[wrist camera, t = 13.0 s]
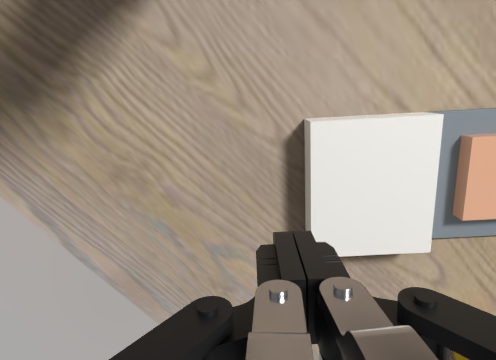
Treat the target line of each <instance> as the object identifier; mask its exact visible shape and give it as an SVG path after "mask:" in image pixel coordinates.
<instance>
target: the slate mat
mask: <svg viewBox="0 0 496 360" xmlns="http://www.w3.org/2000/svg"><path fill="white" fill-rule="evenodd" d="M428 113H437V114H444V117H443V128H442V138H441V148H440V158H439V168H438V178H437V189H436V199H435V209H434V219H433V229H432V238H452V237H473V236H493V235H496V219H486V220H466V221H462V220H461V219H459V218H457V217H456V216H454V215H452V214H453V205H454V196H455V187H456V178H457V170H458V161H459V152H460V143H461V135H470V134H488V133H496V108H489V109H471V110H453V111H435V112H428Z"/></svg>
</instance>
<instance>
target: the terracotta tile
mask: <svg viewBox="0 0 496 360" xmlns="http://www.w3.org/2000/svg"><path fill="white" fill-rule="evenodd" d="M452 215H454V216H456V217H457V218H459V219H461V220H462V221H466V220H486V219H496V133H488V134H470V135H461V143H460V152H459V161H458V170H457V178H456V187H455V196H454V205H453V214H452Z"/></svg>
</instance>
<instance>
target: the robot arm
mask: <svg viewBox="0 0 496 360" xmlns="http://www.w3.org/2000/svg"><path fill="white" fill-rule="evenodd" d="M256 261H257V283H258V288H257V289H256V293H255V297H254V298H253V299H251V300H250V301H248V302H247V303H245V304H242V305H239V306H235V307H232V305H231V303H230V302H229V301H228V300H226V299H225V298H222V297H218V296H208V297H202V298H199V299H197V300H195V301H193V302H191V303H190V304H188V305H187V306H186V307H184V308H183V309H181V310H180V311H178V312H177V313H176V314H174V315H173V316H171V317H170V318H168V319H167V320H165V321H164V322H163V323H161V324H160V325H158V326H157V327H155V328H154V329H153V330H151V331H150V332H148V333H147V334H145V335H144V336H142V337H141V338H139V339H138V340H137V341H135V342H134V343H132V344H131V345H129V346H128V347H126V348H125V349H124V350H122V351H121V352H119V353H118V354H116V355H115V356H113V357H112V358H111V359H109V360H314V359H313V352H312V345H311V344H318V346H319V360H448V358H449V350H452V351H454V352H456V353H458V354H460V355H461V356H463V357H465V358H467V359H469V360H496V316H494V315H492V314H489V313H487V312H484V311H482V310H480V309H477V308H475V307H472V306H470V305H467V304H465V303H463V302H460V301H458V300H455V299H453V298H450V297H448V296H446V295H443V294H441V293H438V292H436V291H433V290H430V289H426V288H419V287H411V288H406V289H403V290H402V291H400V292H399V294H398V301H394V300H387V299H381V298H376V297H373V296H371V294H370V293H369V292H368V290H367V289H366V287H365V286H364V285H363V284H361V283H360V282H358V281H356V280H354V279H351V278H350V276H349V274H348V272H347V271H346V269H345V267H344V265H343V263H342V262H341V260H340V258H339V256H338V254H337V252H336V251H335V249H334V247H332V246H331V245H329V244H328V243H326V242H316V241H315V238H314V236H313V234H312V232H311V230H309V231H292V232H291V231H290V232H273V244H270V245H261V246H260V247H259V248H258V250H257V251H256Z"/></svg>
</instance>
